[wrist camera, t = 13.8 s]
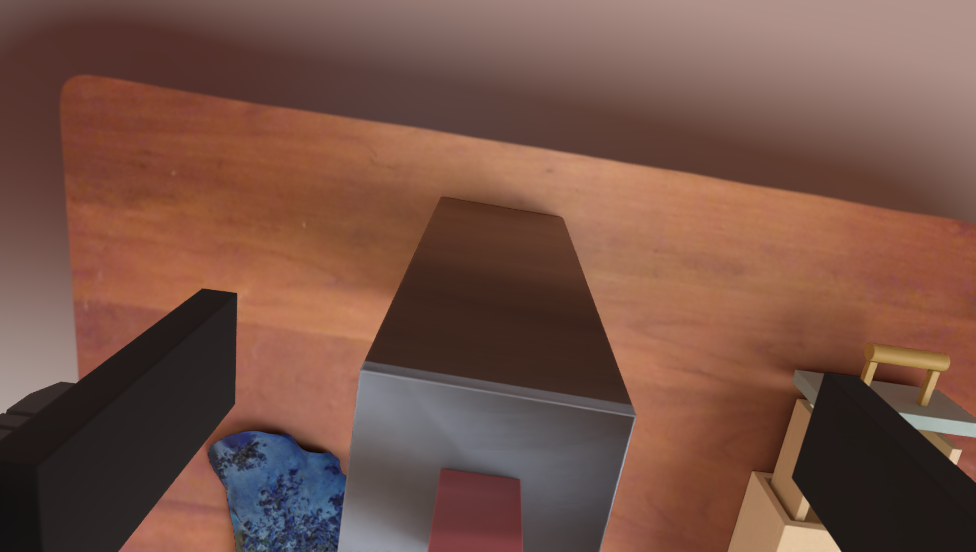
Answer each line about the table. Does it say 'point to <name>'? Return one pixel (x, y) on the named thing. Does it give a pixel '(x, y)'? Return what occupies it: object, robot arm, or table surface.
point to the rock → (280, 493)
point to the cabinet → (774, 524)
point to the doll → (476, 513)
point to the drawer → (912, 403)
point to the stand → (488, 386)
